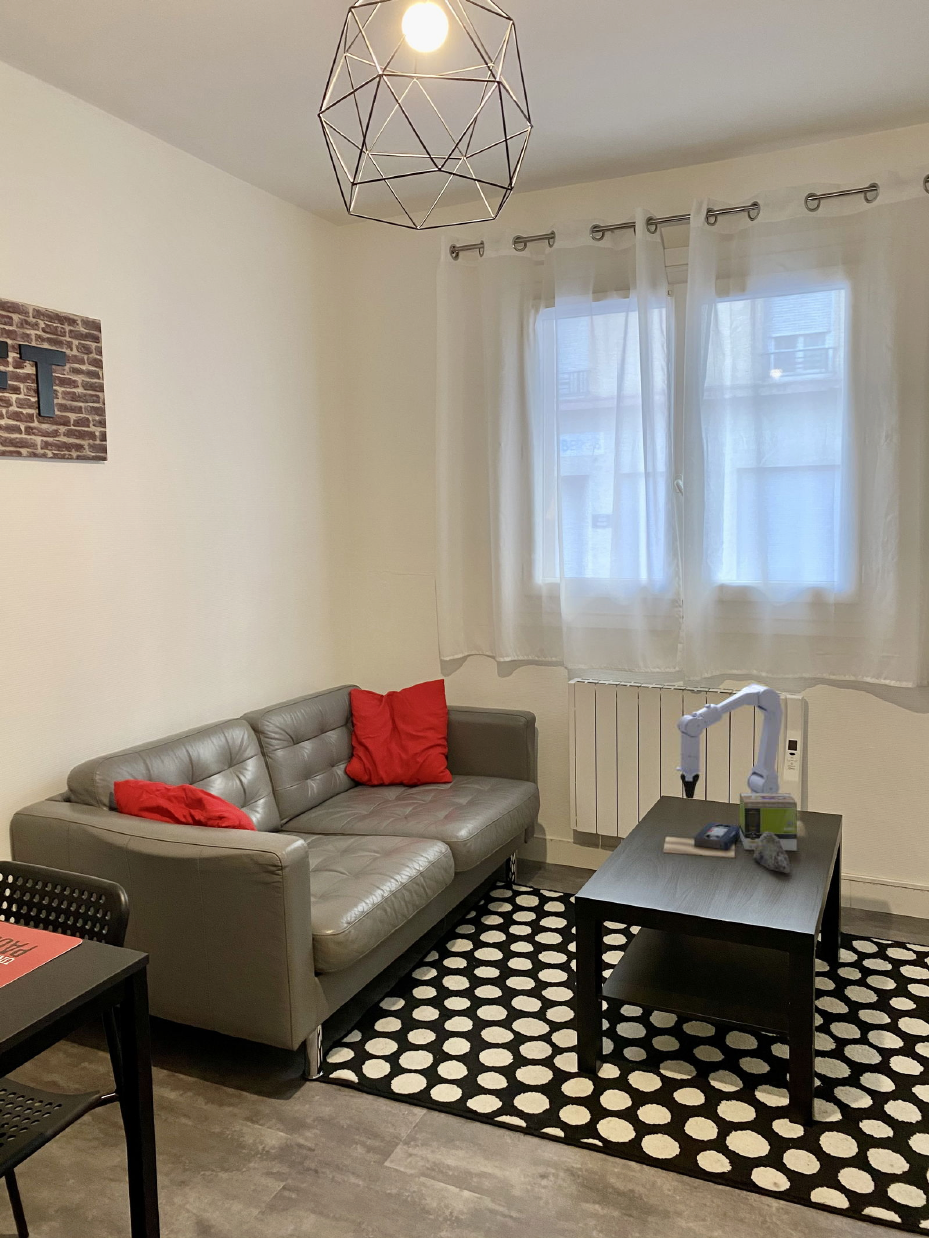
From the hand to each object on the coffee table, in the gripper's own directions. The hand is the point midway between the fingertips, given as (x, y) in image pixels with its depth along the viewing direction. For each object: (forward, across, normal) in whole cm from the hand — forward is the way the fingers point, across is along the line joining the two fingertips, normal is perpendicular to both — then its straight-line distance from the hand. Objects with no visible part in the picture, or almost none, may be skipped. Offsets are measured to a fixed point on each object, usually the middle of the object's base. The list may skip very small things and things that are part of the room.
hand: (689, 797), depth 302 cm
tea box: (+11, +9, +23) cm, 27 cm away
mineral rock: (+11, +28, +23) cm, 38 cm away
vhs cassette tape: (+9, +6, +4) cm, 12 cm away
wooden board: (+10, +15, +4) cm, 19 cm away
